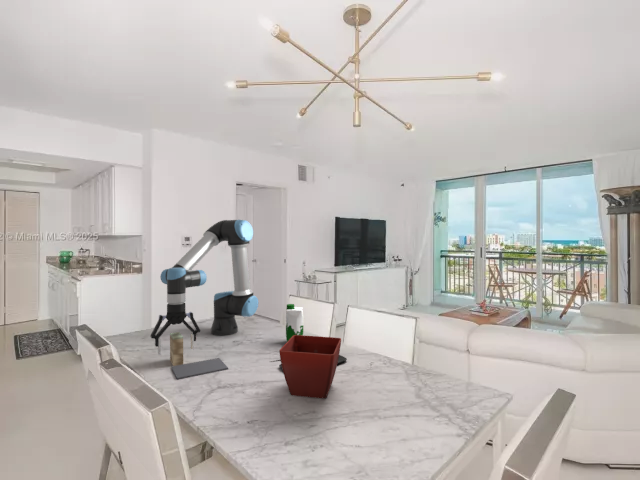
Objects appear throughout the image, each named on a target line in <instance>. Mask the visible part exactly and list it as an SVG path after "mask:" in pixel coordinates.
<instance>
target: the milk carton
mask: <svg viewBox="0 0 640 480" xmlns="http://www.w3.org/2000/svg"><path fill="white" fill-rule="evenodd" d="M303 309H304V307H298V306H295V304H294V303H288V304H286V310H285V339H286V340H285V341H286V343H287V342H288V341H289V339H290V338H291V337H292V336H293V335H304V311H303Z"/></svg>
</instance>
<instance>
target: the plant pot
mask: <svg viewBox="0 0 640 480" xmlns="http://www.w3.org/2000/svg"><path fill="white" fill-rule="evenodd" d="M341 345H342V338H341V337H330V336H318V335H317V336H316V335H315V336H314V335H304V334H303V335H293V336H292V337H291V338H290V339H289V341H288V342H287V341H286V343H284V345H282V347H281V348H280V349H279V351H278V352H279V358H280V359H279V360H281V361H280V364H281V365H282V369H281V370H282V372H283V375H284V379H285V383H286V385H287V390H288V392H289V394H290V396H294V397H303V398H313V399H321V400H324V399H326V398H327V397H328V395H329V392H330V389H331V387H332V384H333V381H334V378H335V374H336V371H337V366H338V364H339V363H338V358H339V355H340V352H341ZM337 363H338V364H337Z"/></svg>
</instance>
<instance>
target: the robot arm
mask: <svg viewBox="0 0 640 480" xmlns="http://www.w3.org/2000/svg"><path fill="white" fill-rule="evenodd" d="M253 236H254V228H253V226H252V224H251V223H250V222H249V221H248V220H246V219H244V220H243V219H223V220H220V221H218V222H216V223H213V225H211V226H210V227H209V228H207V229H206V230H205V231H204V232H203V235H202V237H201V239H199V240H198V241H197V242H196V243H195V244H194V245H193V246H192V247H191V248H190V249H189V250H188V251H187V252H186V253H185V254H184V255H183V256H182V257H181V258H180V259H179V260H178V261H177V262H176V263H175V264H174V265H173V266H172V267H170V268H166V269H163V270H162V271H161V273H160V280H161V281H160V282H162V283H163V284H164V285H166V303H167V304H166V315H162V314H159V315H158V320H157V322H156V323H155V324H156V325H155V326H154V327H153V329H152V332H151V334H150V338H151V339H154V345H155V347H156V348H157V354H158V356H159V355H161V352H162V349H161V347H162V346H161V343H162V342H161V341H162V339H161V336H162V335H163V334H164V333H165V332H166V330H167V329H168V328H169V327H170V326H171V325H172V326H173V325H181V324H183V325H184V326H186V328H187V329H189V330H190V332H192V333H190V349H191V350H194V348H195V346H194V345H195V342H197V334H198V333H200V332H201V329H200V327H199V326H198V323H197V322H196V320H195V318H194V313H193V312H192V311H189V312H187V313H186V303H185V302H186V293H187V292H186V289H188V288H194V287H200V286H203V285H205V284H206V282H207V281H208V279H207V278H208V277H207V273H206V272H205V271H204V270H202V269H195V270H193V269H194V268H195V267H196V265H198V263H200V261H201V260H202V259H203V258H204V257H205V256H206V255H207V254H208V253H209V252H210V251H211V250H212V249H213V248H214V247H217V246H218V245H219V244H220V243H222V242H227V246H228V247H229V248H230V249H231V252H230V253H231V261H232V275H233V277H232V278H233V284H234V285H233V288H234V290H229V291H221V292H217V293H215V294H214V296H213V321H212V325H211V328H210V334H212V335H215V336H228V335H233V334H236V333H237V332H238V331H239V327H238V324H237V322H236V317H235V316H237V317H238V316H240V317H244V318H245V317H246V318H247V317H249V318H250V317H252V316H253V315H255V314H256V313H257V310H258V307H259V298H258V297H257V296H256V295H254V290H253V289H251V282H250V279H251V278H250V270H249V255H248V246H249V245H250V241H251V240H253ZM186 318H189V319H190V321H191V323H192V325H193V326H194V328H195V329H194V328H193V327H192V326H191V325H190V324H189V323H188V322H187V321H186ZM165 319H166V320H167V321H165V323H164V325H163V326H162V327H161V324H162V323H163V322H164V320H165ZM160 327H161V328H160ZM159 329H160V330H159Z"/></svg>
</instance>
